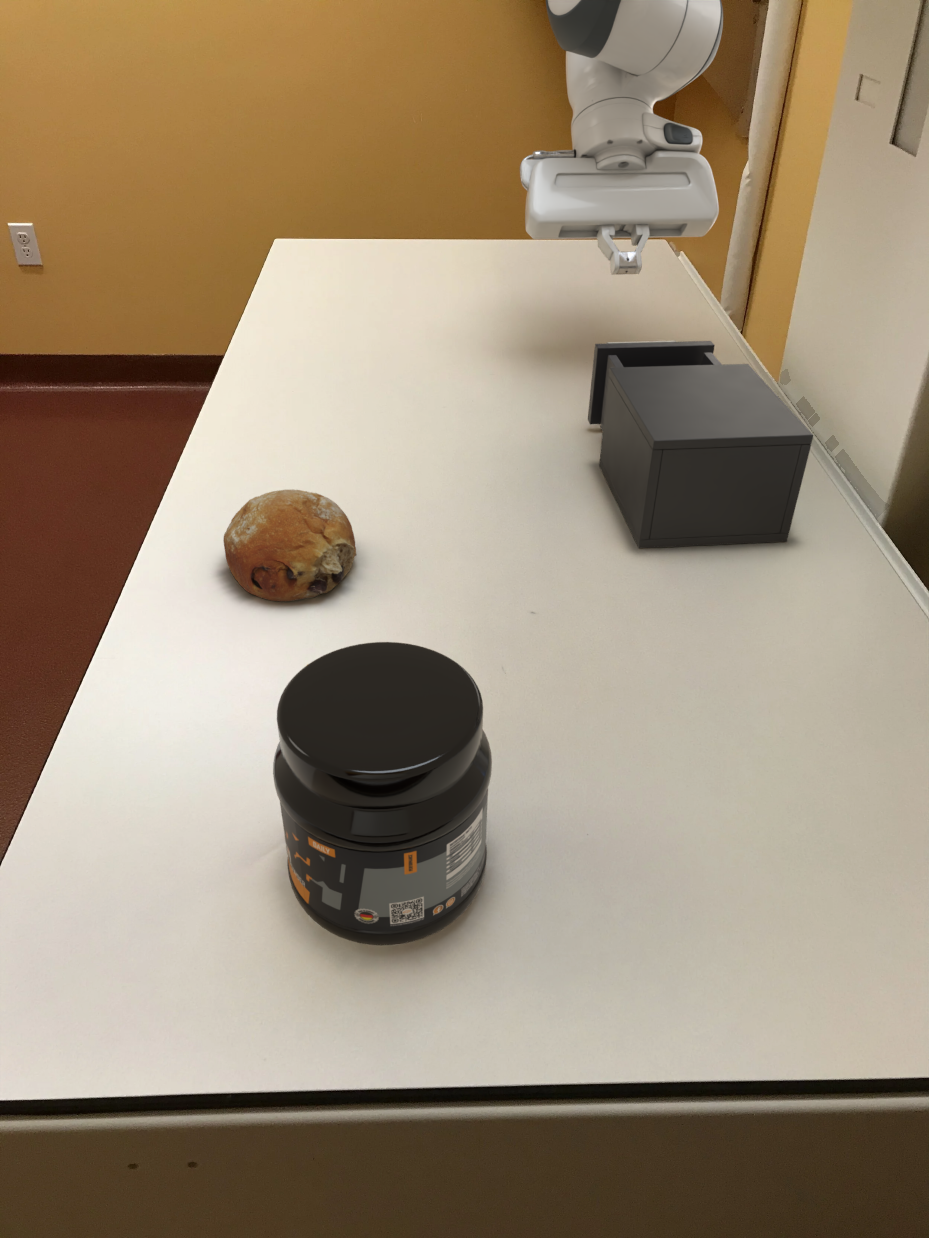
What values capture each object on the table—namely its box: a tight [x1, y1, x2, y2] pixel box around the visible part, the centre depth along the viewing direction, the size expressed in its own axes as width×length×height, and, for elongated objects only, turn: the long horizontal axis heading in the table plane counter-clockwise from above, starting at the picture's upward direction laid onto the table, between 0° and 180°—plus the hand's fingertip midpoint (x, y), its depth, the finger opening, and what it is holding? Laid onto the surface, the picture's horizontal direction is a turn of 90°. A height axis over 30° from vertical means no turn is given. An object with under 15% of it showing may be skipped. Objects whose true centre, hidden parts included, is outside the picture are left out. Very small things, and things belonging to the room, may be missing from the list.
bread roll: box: [223, 488, 357, 602], centre depth 74 cm, size 10×10×8 cm
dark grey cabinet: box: [598, 363, 814, 549], centre depth 82 cm, size 15×13×10 cm
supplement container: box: [272, 641, 493, 947], centre depth 48 cm, size 10×10×12 cm
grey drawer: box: [587, 340, 723, 432], centre depth 90 cm, size 18×11×8 cm, turn 6°
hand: (626, 272), depth 100 cm, fingers closed
